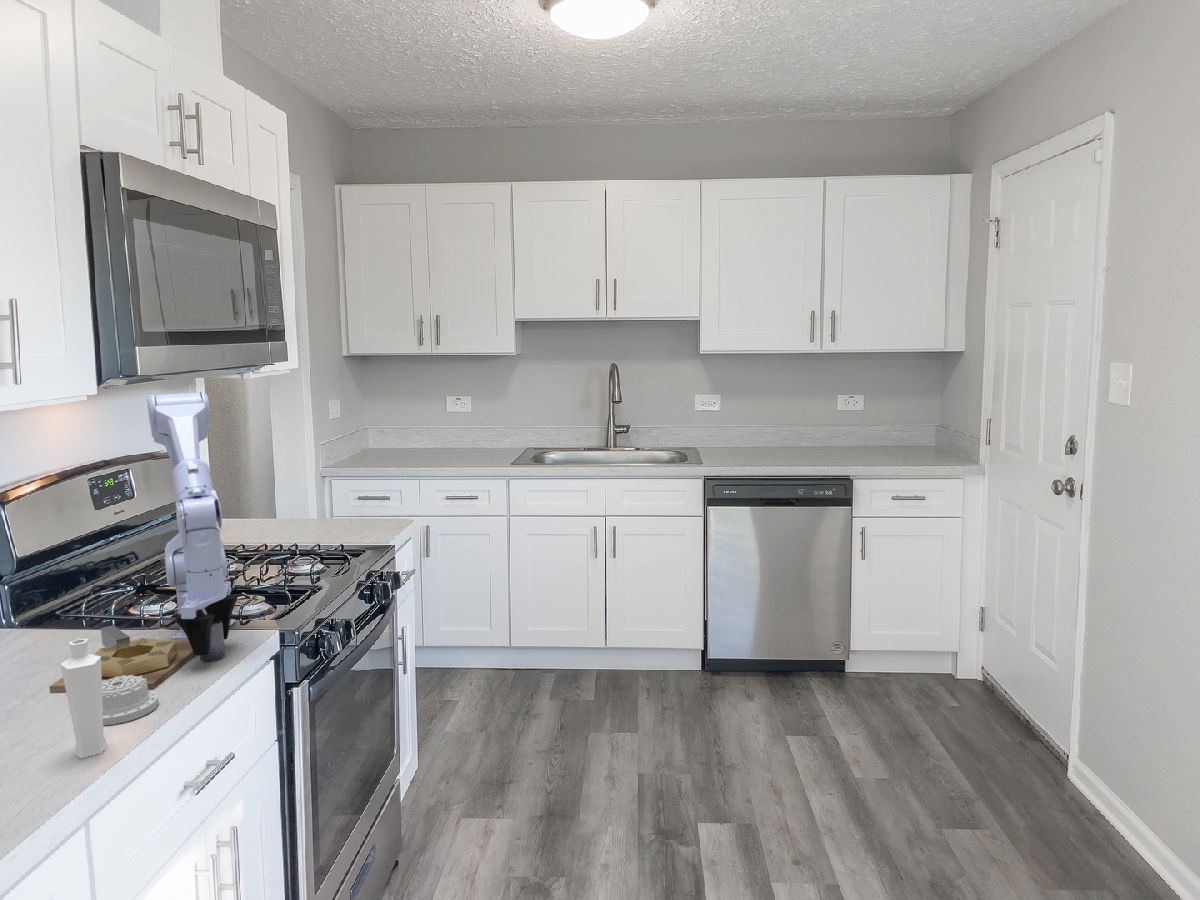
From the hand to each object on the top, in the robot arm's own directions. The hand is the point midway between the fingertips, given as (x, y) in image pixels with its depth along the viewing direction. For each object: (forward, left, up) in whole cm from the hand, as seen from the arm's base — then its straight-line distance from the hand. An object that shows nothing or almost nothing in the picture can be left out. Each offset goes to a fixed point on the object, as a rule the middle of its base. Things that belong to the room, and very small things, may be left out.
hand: (211, 646), depth 149 cm
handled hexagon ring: (+2, -13, -1) cm, 14 cm away
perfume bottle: (+33, -2, -2) cm, 33 cm away
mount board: (+3, -12, -2) cm, 12 cm away
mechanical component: (+21, -5, -2) cm, 21 cm away
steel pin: (0, 0, -2) cm, 2 cm away
